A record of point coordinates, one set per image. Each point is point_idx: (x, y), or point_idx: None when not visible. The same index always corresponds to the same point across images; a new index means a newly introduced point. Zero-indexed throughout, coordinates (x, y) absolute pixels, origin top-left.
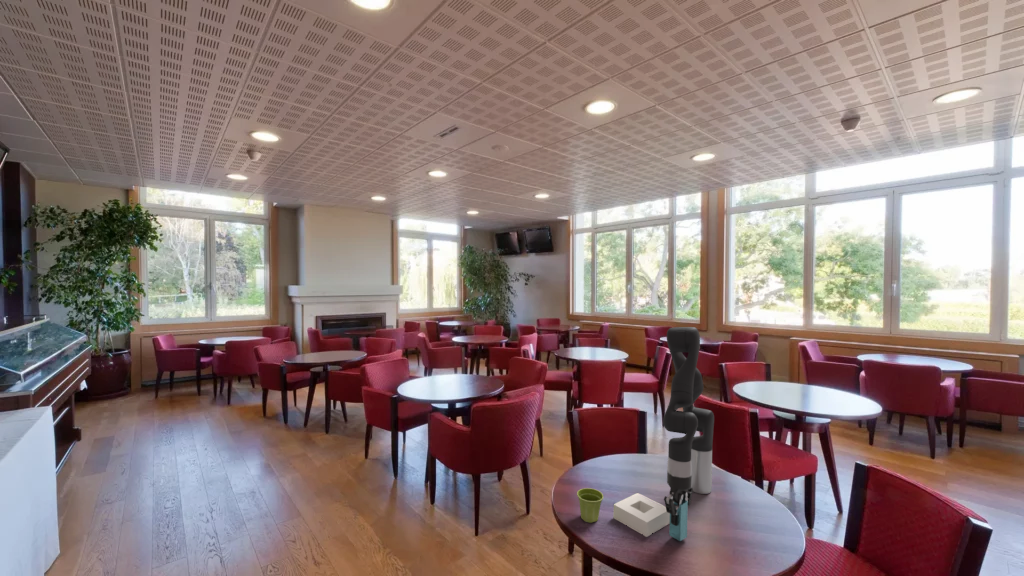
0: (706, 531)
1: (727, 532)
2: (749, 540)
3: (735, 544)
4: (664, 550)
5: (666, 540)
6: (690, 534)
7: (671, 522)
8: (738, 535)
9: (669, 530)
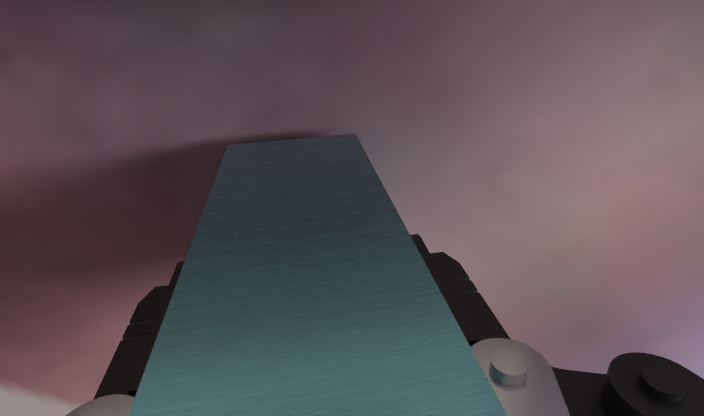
0: (590, 224)
1: (670, 293)
2: None
3: None
4: (44, 224)
5: (184, 137)
6: (457, 188)
7: (151, 298)
8: (676, 337)
9: (219, 166)
